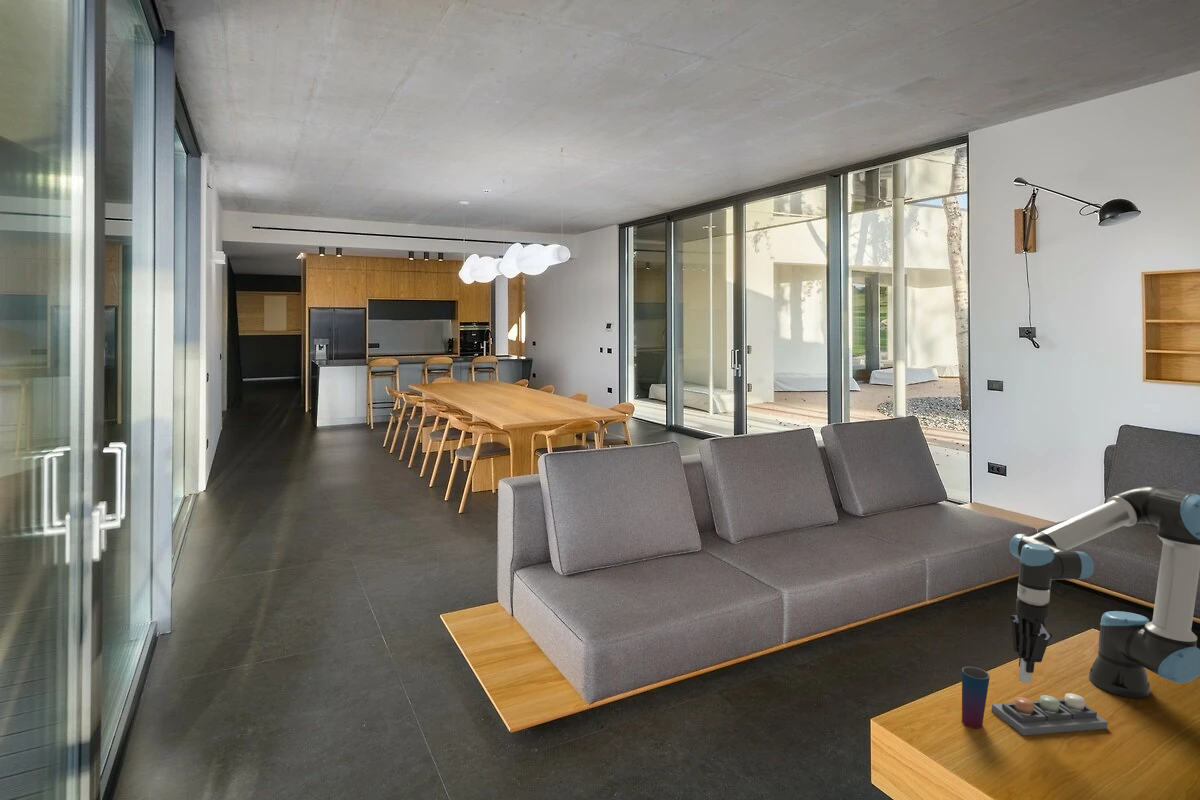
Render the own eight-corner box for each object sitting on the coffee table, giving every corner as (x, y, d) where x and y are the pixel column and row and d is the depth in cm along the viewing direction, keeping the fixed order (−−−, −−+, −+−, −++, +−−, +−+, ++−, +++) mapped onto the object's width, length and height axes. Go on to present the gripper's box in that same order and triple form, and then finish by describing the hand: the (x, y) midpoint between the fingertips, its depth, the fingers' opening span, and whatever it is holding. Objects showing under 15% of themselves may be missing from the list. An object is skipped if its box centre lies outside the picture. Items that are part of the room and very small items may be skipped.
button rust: (1024, 704, 192) (1025, 696, 192) (1037, 713, 187) (1038, 705, 187) (1010, 705, 191) (1011, 697, 191) (1022, 714, 187) (1023, 706, 186)
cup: (989, 731, 185) (993, 680, 183) (962, 728, 186) (966, 677, 184) (980, 717, 191) (984, 667, 190) (955, 714, 193) (958, 665, 191)
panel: (1071, 704, 199) (1072, 693, 198) (1107, 728, 187) (1108, 716, 186) (991, 710, 195) (992, 699, 195) (1022, 735, 183) (1023, 723, 183)
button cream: (1074, 700, 194) (1075, 692, 194) (1088, 709, 190) (1089, 701, 189) (1060, 701, 194) (1061, 693, 193) (1073, 710, 189) (1074, 702, 189)
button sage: (1049, 702, 193) (1050, 694, 193) (1063, 711, 188) (1063, 703, 188) (1035, 703, 192) (1036, 695, 192) (1048, 712, 188) (1049, 704, 188)
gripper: (1003, 591, 192) (996, 670, 194) (1038, 610, 179) (1030, 694, 181) (1026, 590, 193) (1019, 668, 195) (1063, 609, 180) (1055, 692, 182)
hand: (1024, 681), depth 188 cm, fingers closed
